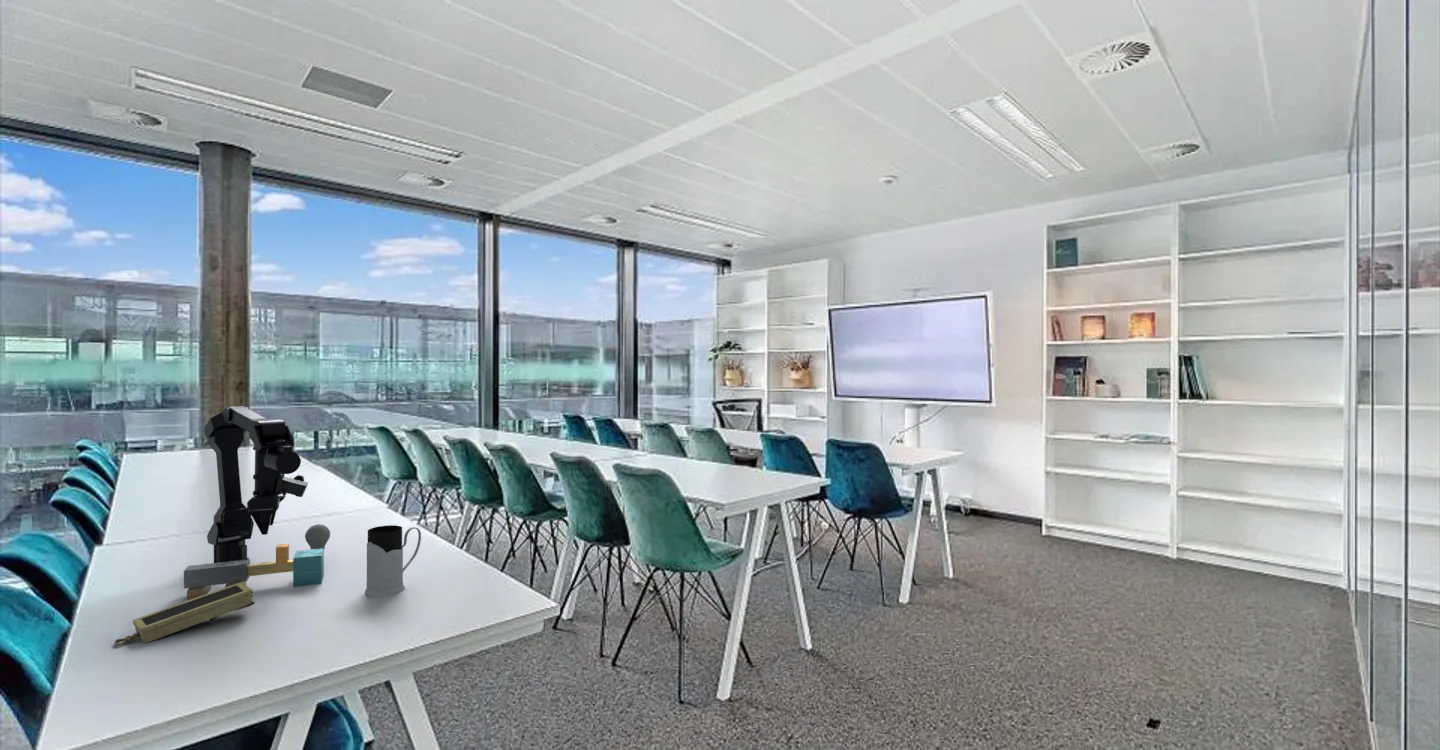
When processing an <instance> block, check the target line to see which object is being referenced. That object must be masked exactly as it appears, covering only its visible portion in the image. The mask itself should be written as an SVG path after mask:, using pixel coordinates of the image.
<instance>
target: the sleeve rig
mask: <svg viewBox="0 0 1440 750" xmlns="http://www.w3.org/2000/svg"><path fill="white" fill-rule="evenodd" d="M324 552H325V549H324V548H321V549H311V548H310V549H304V550H296V551H295V553H294V555H293V557H292V559H293V571H292V587H293V588H296V587H303V586H306V587H307V586H311V585H312V586H314V585H322V583H323V579H324V575H325V573H324V572H325V564H324V563H325V561H324V560H325V553H324ZM248 564H251V559H250V558H249V559H248V560H239V561H229V562H220V563H214V562H212V563H210V562H209V563H203V564H201V563H200V564H193V565H192V564H191V565H188V566H187V567H186V568H185V569H184V570H183V590H186V589H187V590H186V594H187V595H186V601H188V600H191V599H194V598H197V597H200V596H203V595H206V594H208V593H210V591H211V589H212V586H218V585H224V588H226V587H228V586H231V585H234V584H237V583H240V582H241V583H243V584H245V585H246V586H247V582H248V580H249V578H250V577H251V576H248V577H247V565H248Z"/></svg>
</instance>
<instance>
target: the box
mask: <svg viewBox="0 0 1440 750" xmlns="http://www.w3.org/2000/svg"><path fill="white" fill-rule="evenodd" d="M253 598H254V591H253V589H252V588H251V587H249V586H247V584H246V585H245V584H243V583H241V582H240V583H237V584H234V585H231V586H228V587H226V588H225V587H223V588H220V589H218V590H217V589H216V590H215V591H211V592H208V593H207V594H206V595H203V596H200V597H197V598H194V599H191V600H188V601H187V600H186V601H183V602H180V603H177V604H174V605H171V606H168V607H166V608H162V609H160V610H157V611H154V612H152V613H149V614H146V615H142V616H140V617H138V618H135V619H132V624H133V626H134V627H135V631H136V632H135V633H133V634H132V635H127V636H125V637H124V638H117V639H115V640H114V641H113V643H114V646H115V648H119V647H122V646H123V645H125V644H126V643H127V644H128V643H132V642H133V641H135V640H137V639H140V641H142V643H143V644H147V643H149V642H152V641H155V640H156V641H157V640H158V639H161V638H163V637H166V636H168V635H172V634H173V633H176V632H179V631H182V630H185V629H187V628H190V627H192V626H193V627H194V626H195V625H197V624H201V623H203V622H206V621H207V623H208V624H209V623H210V624H211V623H212V622H213V621H215V620H216V619H217V618H219V617H221V616H223V615H225V614H228V613H231V612H235V611H239V610H242V609H245V608H248V607H251V606H254V605H255V603H256V602H255V601H253Z"/></svg>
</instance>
